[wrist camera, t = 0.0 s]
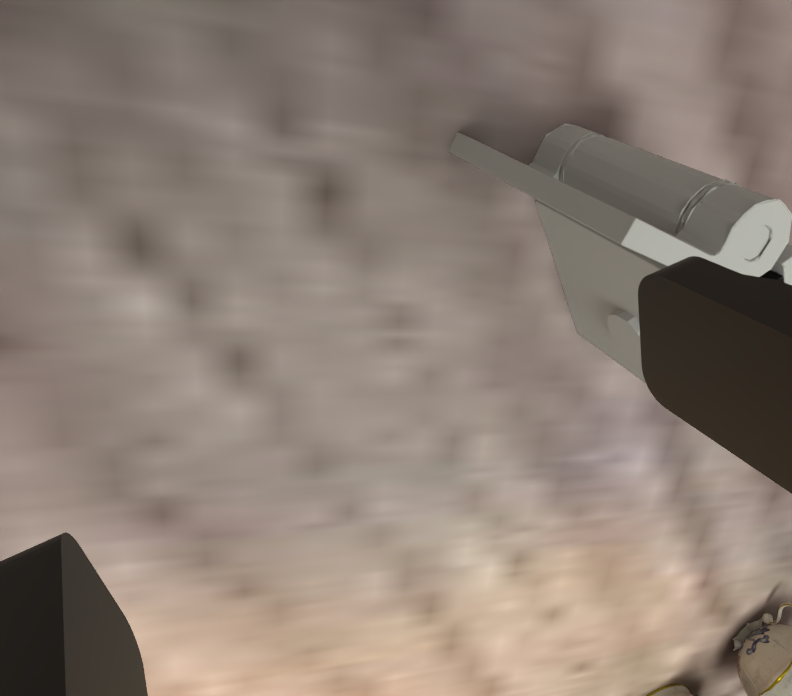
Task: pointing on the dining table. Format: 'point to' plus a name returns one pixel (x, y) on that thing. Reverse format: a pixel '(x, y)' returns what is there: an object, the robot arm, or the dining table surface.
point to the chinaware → (757, 659)
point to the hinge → (633, 225)
